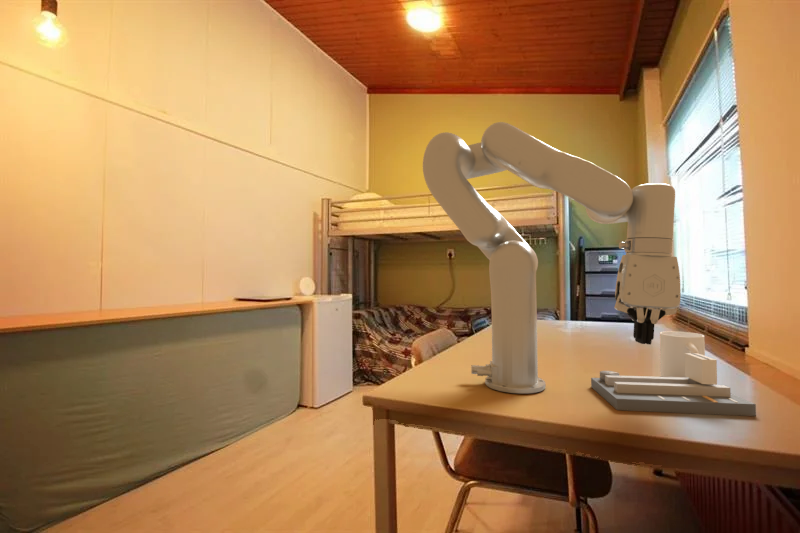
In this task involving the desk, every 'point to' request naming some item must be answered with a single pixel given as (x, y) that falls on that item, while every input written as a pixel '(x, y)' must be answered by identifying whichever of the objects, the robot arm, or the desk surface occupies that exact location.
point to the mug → (678, 351)
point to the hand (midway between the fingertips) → (643, 342)
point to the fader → (700, 369)
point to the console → (669, 395)
